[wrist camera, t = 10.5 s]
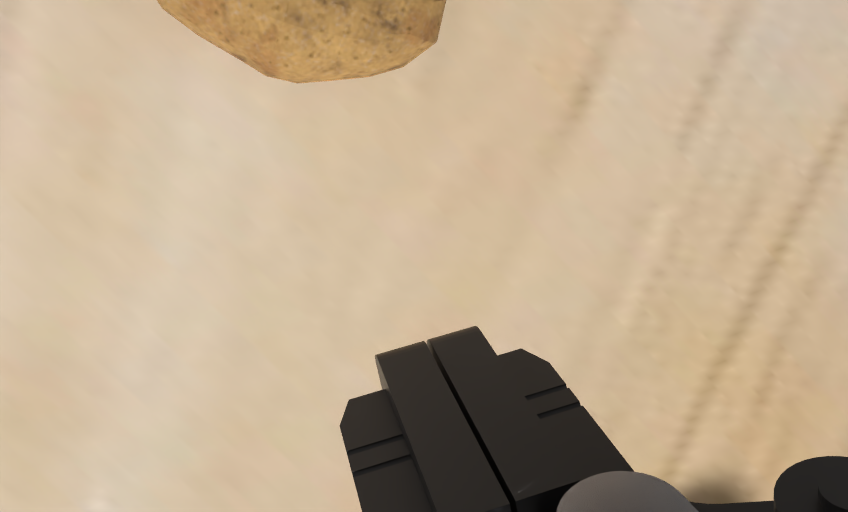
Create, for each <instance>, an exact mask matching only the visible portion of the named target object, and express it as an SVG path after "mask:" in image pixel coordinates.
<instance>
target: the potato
mask: <svg viewBox="0 0 848 512" xmlns="http://www.w3.org/2000/svg"><path fill="white" fill-rule="evenodd" d="M157 1H158V3H159V4H160V6H161V7H162V9H164V10H165V11H166V12H168V13H169V14H170V15H172V16H173V17H174V18H176V19H177V20H178V21H180V22H181V23H182V24H184V25H185V26H186V27H188V28H189V29H190V30H192V31H193V32H194V33H196V34H197V35H198V36H200V37H202V38H204V39H205V40H207V41H209V42H210V43H212V44H214V45H216V46H217V47H219V48H221V49H222V50H224V51H226V52H227V53H229V54H231V55H233V56H234V57H236V58H238V59H239V60H241V61H243V62H244V63H246V64H248V65H249V66H251V67H252V68H254V69H256V70H257V71H259V72H260V73H262V74H264V75H265V76H268V77H273V78H277V79H281V80H286V81H290V82H294V83H308V82H320V81H332V80H342V79H352V78H362V77H370V76H374V75H377V74H381V73H384V72H387V71H391V70H394V69H398V68H401V67H404V66H405V65H406V64H408V63H409V62H410V61H412V60H413V59H414V58H416V57H417V56H419V55H420V54H421V53H423V52H424V51H425V50H427V49H428V48H429V47H431V46H432V45H433V44H435V43H436V42H437V39H438V34H439V30H440V25H441V21H442V16H443V12H444V7H445V3H446V0H157Z"/></svg>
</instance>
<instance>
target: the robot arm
mask: <svg viewBox="0 0 848 512" xmlns="http://www.w3.org/2000/svg"><path fill="white" fill-rule="evenodd" d="M375 359H376V365H377V369H378V373H379V378H380V382H381V386H382V390H380V391H377V392H374V393H370V394H367V395H363V396H360V397H357V398H353V399H350V400H349V401H348V404H347V407H346V409H345V412H344V415H343V418H342V421H341V424H340V429H341V432H342V436H343V440H344V444H345V448H346V451H347V455H348V459H349V463H350V467H351V470H352V474H353V478H354V482H355V486H356V489H357V493H358V497H359V501H360V505H361V508H362V512H848V457H842V456H825V457H816V458H812V459H807V460H804V461H801V462H799V463H796V464H794V465H793V466H791V467H789V468H788V469H787V470H785V471H784V472H783V473H782V474H781V475H780V477H779V478H778V480H777V481H776V485H775V488H774V501H761V502H745V503H729V504H703V503H694V502H689V501H688V500H687V499H686V498H685V497H684V496H683V495H682V494H681V493H680V492H679V491H678V490H676V489H675V488H674V487H673V486H671V485H670V484H668V483H667V482H665V481H663V480H661V479H659V478H656V477H654V476H651V475H647V474H644V473H638V472H634V471H633V469H632V468H631V467H630V465H629V464H628V463H627V462H626V460H625V459H624V458H623V456H622V455H621V454H620V453H619V451H618V450H617V449H616V447H615V446H614V445H613V444H612V442H611V441H610V440H609V439H608V437H607V436H606V435H605V433H604V432H603V431H602V430H601V428H600V427H599V426H598V424H597V423H596V422H595V421H594V419H593V418H592V417H591V415H590V414H589V413H588V412H587V410H586V409H585V408H584V407H583V406H581V405H580V402H579V400H578V399H577V398H576V396H575V395H574V394H573V392H572V391H571V390H570V389H569V388H567V387H566V383H565V382H564V381H563V380H562V378H561V377H560V376H559V375H558V373H557V372H556V371H555V369H554V368H553V367H552V366H551V364H550V363H549V362H547V361H545V360H543V359H541V358H539V357H537V356H535V355H533V354H531V353H529V352H527V351H525V350H523V349H518V350H515V351H511V352H508V353H504V354H501V355H498V356H497V355H496V353H495V352H494V350H493V349H492V347H491V346H490V344H489V343H488V341H487V340H486V338H485V337H484V335H483V334H482V332H481V331H480V329H479V328H478V327H477V326H473V327H470V328H466V329H463V330H460V331H456V332H453V333H449V334H446V335H442V336H439V337H435V338H432V339H428V340H427V344H426V343H425V341H422V342H419V343H415V344H412V345H408V346H405V347H401V348H398V349H394V350H391V351H388V352H384V353H381V354H377V355H375Z"/></svg>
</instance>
